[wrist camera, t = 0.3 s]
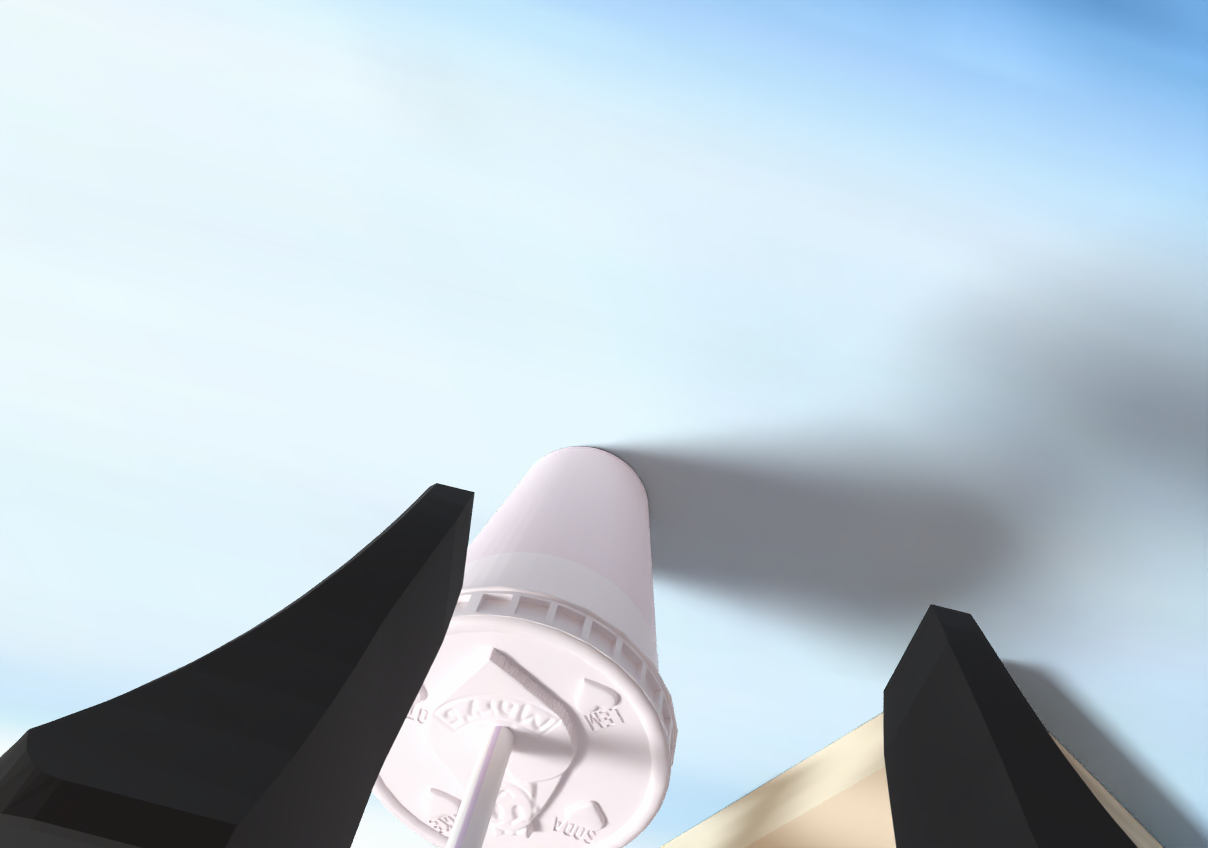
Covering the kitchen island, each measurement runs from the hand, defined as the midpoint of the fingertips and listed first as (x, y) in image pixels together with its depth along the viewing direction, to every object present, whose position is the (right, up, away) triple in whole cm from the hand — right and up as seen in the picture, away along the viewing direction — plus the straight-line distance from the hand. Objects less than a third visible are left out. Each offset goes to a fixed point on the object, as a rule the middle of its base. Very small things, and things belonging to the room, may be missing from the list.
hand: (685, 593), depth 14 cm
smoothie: (-2, 0, +12) cm, 12 cm away
